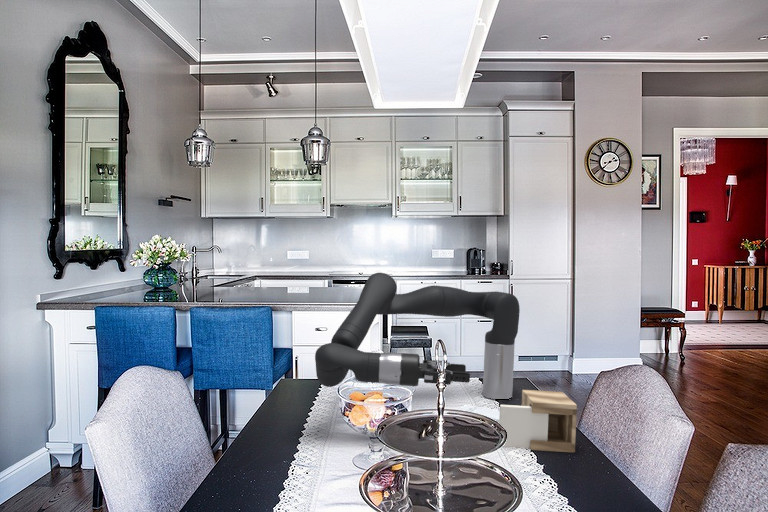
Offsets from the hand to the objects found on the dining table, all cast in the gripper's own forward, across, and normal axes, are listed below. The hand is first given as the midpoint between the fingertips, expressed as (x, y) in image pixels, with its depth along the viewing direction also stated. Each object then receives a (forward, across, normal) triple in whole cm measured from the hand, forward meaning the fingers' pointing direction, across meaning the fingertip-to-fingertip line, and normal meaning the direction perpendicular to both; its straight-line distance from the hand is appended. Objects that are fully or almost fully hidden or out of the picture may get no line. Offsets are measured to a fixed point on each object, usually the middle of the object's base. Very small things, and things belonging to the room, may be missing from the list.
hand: (467, 373), depth 120 cm
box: (+20, -5, -16) cm, 26 cm away
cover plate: (+14, -1, -17) cm, 22 cm away
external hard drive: (+7, -23, -17) cm, 29 cm away
